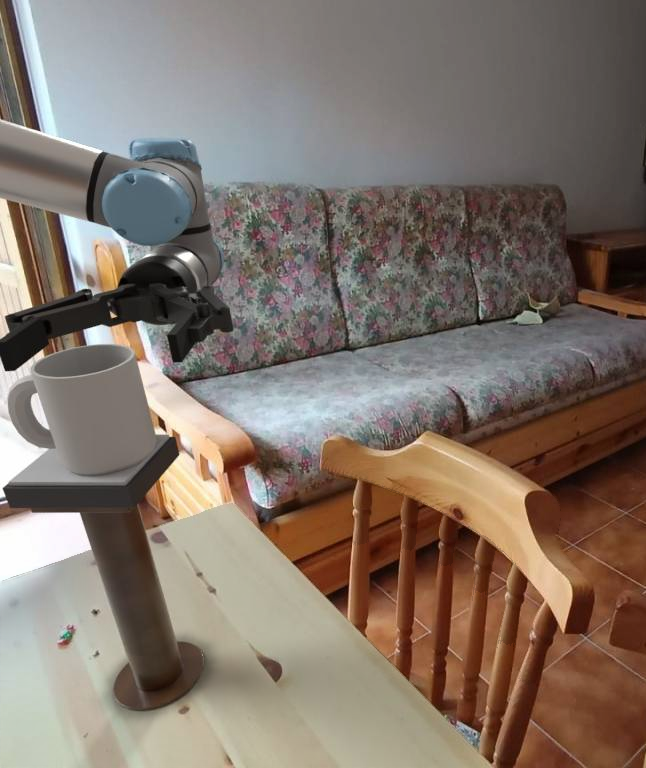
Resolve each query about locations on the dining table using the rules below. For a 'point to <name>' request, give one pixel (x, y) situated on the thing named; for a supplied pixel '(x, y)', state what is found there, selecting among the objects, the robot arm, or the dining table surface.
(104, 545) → the stand
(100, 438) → the cup
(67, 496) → the scale
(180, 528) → the dining table surface
